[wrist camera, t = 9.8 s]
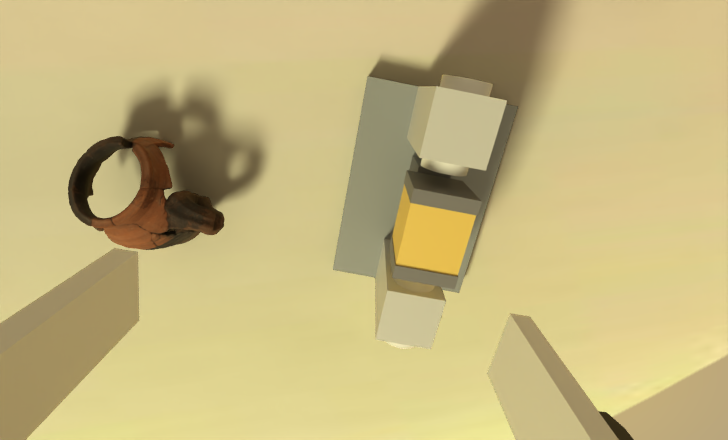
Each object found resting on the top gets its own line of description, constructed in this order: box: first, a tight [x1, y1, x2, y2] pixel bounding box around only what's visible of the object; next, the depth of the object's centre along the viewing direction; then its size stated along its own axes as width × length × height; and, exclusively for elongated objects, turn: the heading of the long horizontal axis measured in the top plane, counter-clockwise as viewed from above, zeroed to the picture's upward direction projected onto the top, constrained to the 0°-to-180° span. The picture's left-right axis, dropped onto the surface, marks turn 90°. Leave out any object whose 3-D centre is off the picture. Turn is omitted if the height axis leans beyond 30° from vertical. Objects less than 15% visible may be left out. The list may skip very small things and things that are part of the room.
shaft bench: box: [333, 75, 518, 349], centre depth 28 cm, size 12×18×10 cm, turn 169°
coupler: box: [389, 170, 482, 289], centre depth 25 cm, size 4×6×5 cm
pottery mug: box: [68, 136, 224, 250], centre depth 31 cm, size 12×10×8 cm
